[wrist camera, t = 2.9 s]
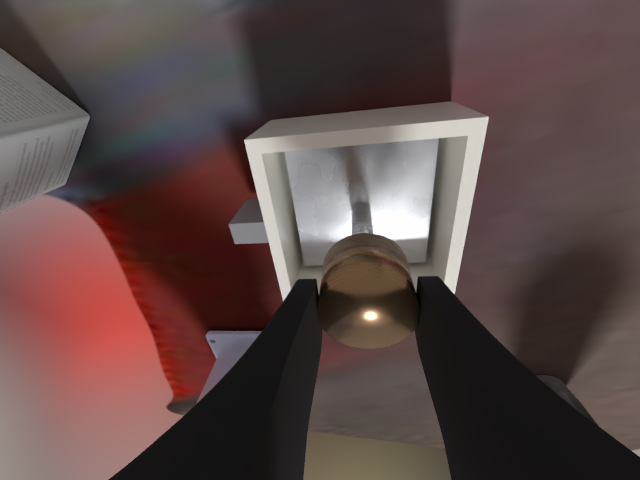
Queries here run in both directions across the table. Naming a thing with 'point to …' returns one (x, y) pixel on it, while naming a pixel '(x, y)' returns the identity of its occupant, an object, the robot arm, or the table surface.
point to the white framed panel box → (361, 129)
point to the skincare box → (34, 134)
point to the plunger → (365, 234)
